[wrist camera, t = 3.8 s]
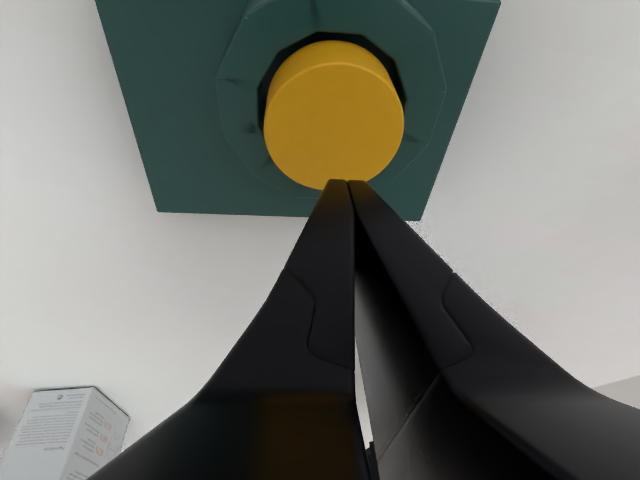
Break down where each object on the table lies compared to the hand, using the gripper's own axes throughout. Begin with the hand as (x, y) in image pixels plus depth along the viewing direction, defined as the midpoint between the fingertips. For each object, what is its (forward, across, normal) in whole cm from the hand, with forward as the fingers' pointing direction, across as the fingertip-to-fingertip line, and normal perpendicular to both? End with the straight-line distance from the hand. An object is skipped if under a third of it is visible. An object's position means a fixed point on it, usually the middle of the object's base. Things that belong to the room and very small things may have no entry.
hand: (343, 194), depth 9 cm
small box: (+8, +20, +33) cm, 39 cm away
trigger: (+4, 0, 0) cm, 4 cm away
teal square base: (+8, +1, +1) cm, 8 cm away
